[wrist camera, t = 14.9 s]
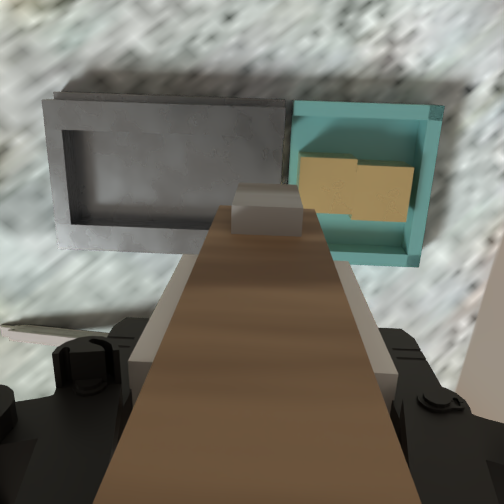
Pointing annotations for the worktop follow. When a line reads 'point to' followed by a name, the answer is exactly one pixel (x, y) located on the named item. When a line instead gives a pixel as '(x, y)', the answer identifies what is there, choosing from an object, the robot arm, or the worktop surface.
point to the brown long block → (260, 378)
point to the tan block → (382, 191)
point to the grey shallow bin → (154, 165)
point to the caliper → (44, 334)
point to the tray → (372, 148)
